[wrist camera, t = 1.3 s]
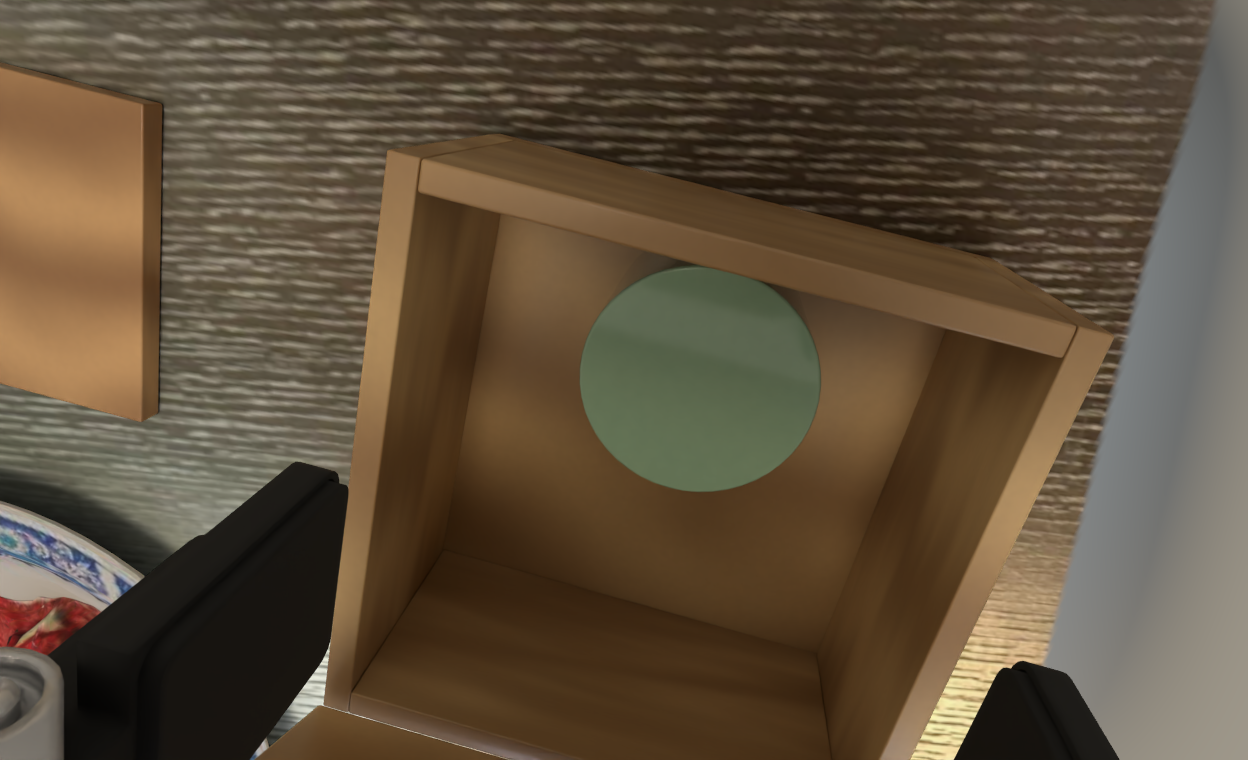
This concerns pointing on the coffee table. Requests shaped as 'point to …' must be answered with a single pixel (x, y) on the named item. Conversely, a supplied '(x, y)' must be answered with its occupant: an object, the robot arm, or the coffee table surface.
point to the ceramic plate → (54, 582)
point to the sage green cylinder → (699, 375)
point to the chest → (664, 517)
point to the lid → (360, 741)
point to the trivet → (80, 242)
